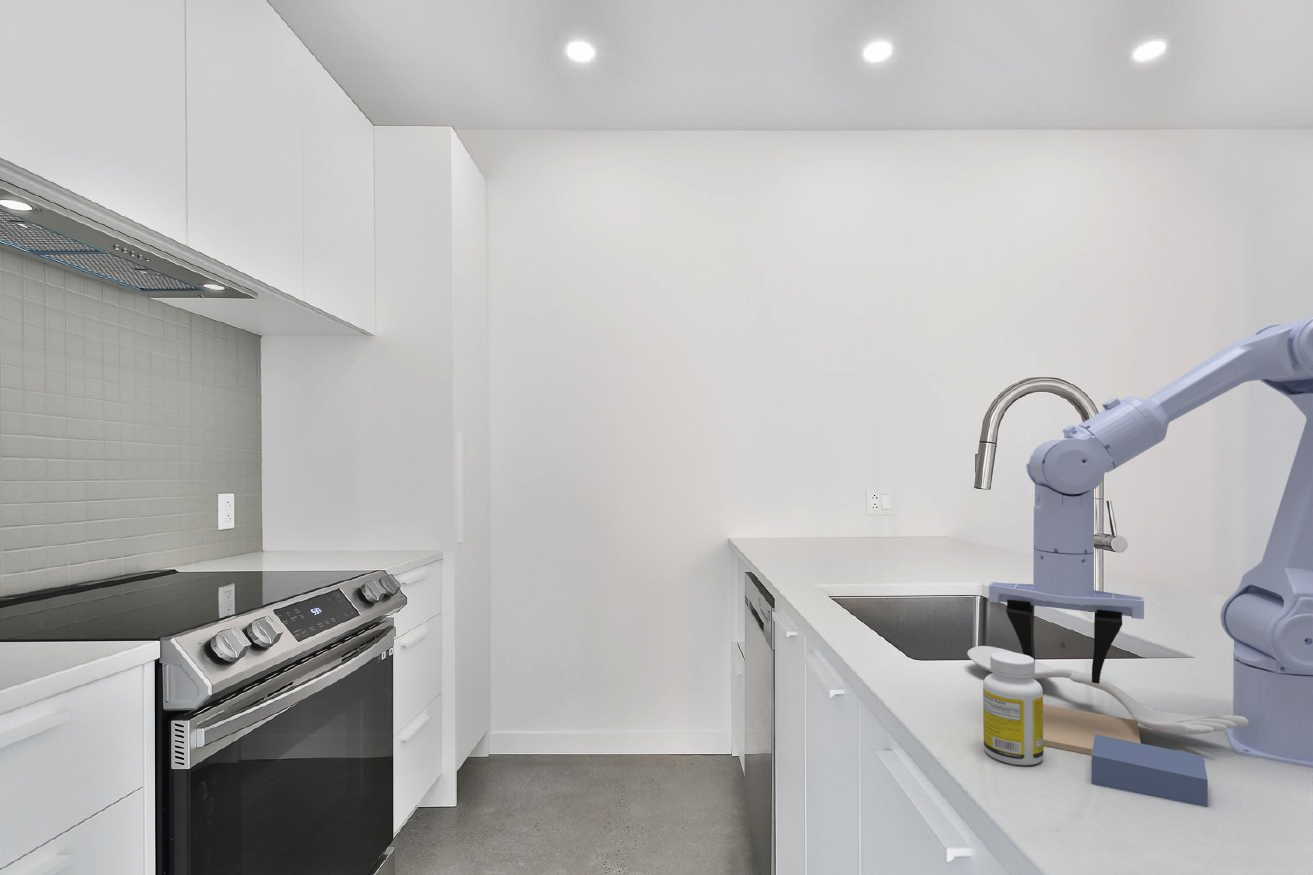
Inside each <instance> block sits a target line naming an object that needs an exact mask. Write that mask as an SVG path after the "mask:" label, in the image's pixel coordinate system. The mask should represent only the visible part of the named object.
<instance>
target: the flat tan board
mask: <svg viewBox="0 0 1313 875" xmlns="http://www.w3.org/2000/svg"><path fill="white" fill-rule="evenodd" d="M1095 734H1096V735H1101V736H1106V737H1111V738H1116V739H1121V740H1126V741H1131V742H1136V743H1141V744H1142V742H1141V735H1140V726H1139V723H1138V722H1137V721H1135V720H1134V719H1130V718H1124V717H1120V716H1119V717H1118V716H1113V715H1107V714H1103V713H1102V714H1101V713H1097V712H1090V711H1083V710H1078V709H1073V708H1072V709H1071V708H1068V707H1067V708H1066V707H1061V706H1054V705H1050V704H1044V703H1043V747H1050V748H1053V749H1054V748H1055V749H1060V750H1065V751H1070V752H1074V753H1080V754H1085V755H1090V756H1092V750H1093V744H1094V737H1095Z"/></svg>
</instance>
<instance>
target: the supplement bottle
mask: <svg viewBox="0 0 1313 875" xmlns="http://www.w3.org/2000/svg"><path fill="white" fill-rule="evenodd" d="M1035 661H1036V660H1035ZM1035 661H1034V659H1033V658H1032V657H1030V656H1027V655H1024V654H1023V653H1020V652H1019V653H1018V652H1015V653H1014V651H1012V652H995V653H992V654H991V658H990V666H991V670H992V671H993V673H992V672H991V673H990V674H988V675H987V676H986V677H985V678H983V679H984V680H983V681H982V682H983V684H982V697H983V698H982V702H983V703H982V705H983V706H982V707H983V710H982V712H983V714H982V716H983V717H982V719H983V720H982V721H983V729H982V730H983V748H984V751H985V752H986V753H987V755H989V756H990V757H992V758H993V759H995V760H996V761H1000V762H1002V763H1005V764H1010V765H1014V766H1031V765H1032V766H1033V765H1036V764H1040V763H1042V761H1043V759H1044V745H1043V704H1044V693H1043V692H1044V690H1043V687H1042V685H1041V683H1040V682H1038V680H1037V679H1033V678H1032V676H1033V675H1034V674H1035V673H1034V672H1035Z"/></svg>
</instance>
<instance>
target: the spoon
mask: <svg viewBox="0 0 1313 875" xmlns="http://www.w3.org/2000/svg"><path fill="white" fill-rule="evenodd" d="M995 652H1014V651H1011V650H1009V649H1005V648H999V647H995V646H988V645H979V646H974V647H972V648H969V649H968V651H967V653H966V655H967V656H968V657H969V658H968V659H970V660H971V661H972V662H973V663H975V664H976V665H978V666H979V667H981V668H983V669H984V670H985V671H988V672H990V673H991V674H992V673H993V671H992V670H991V666H990V658H991V654H992V653H995ZM1014 653H1016V652H1014ZM1034 673H1035V674H1034V675H1033V676H1032V678H1033V679H1034V680H1039V679H1047V678H1049V679H1051V678H1065V679H1070V680H1071V681H1072V682H1074V683H1078V684H1082V685H1086V686H1090V687H1092V688H1096V689H1098V690H1101V691H1104V692H1105V693H1107V694H1109V695H1110V696H1112V697H1113V698H1114V699H1115V700H1117V701H1118V703H1120V704H1121V705H1122V706H1123V707H1124V709H1125V710H1126V711H1127V712H1128V714H1129V715H1130V716H1131V717H1132V720H1135V721H1137V722H1138V725H1140V726H1143V727H1146V728H1149V729H1152V730H1153V731H1157V732H1161V733H1165V734H1170V735H1171V734H1173V735H1185V736H1186V735H1188V736H1191V735H1202V734H1203V735H1204V734H1211V733H1213V732H1223V731H1225V730H1226V729H1231V728H1235V727H1236V726H1241V727H1244V726H1247V725H1248V723H1249V722H1248V720H1247V719H1246V718H1245V717H1242V716H1235V715H1233V714H1232V715H1231V714H1229V715H1228V714H1224V715H1211V716H1210V715H1209V716H1206V715H1205V716H1204V715H1195V714H1188V713H1180V712H1169V711H1163V710H1157V709H1154V708H1151V707H1149V706H1146V705H1144V704H1142V703H1141V702H1139V701H1137V700H1136V699H1135V698H1133V697H1132V696H1131V695H1129V694H1127V693H1126V692H1125V691H1124V690H1122V689H1121V688H1120V687H1118V686H1116V685H1115V684H1113V683H1110V681H1109V682H1108V681H1106V680H1103V679H1101V678H1100V684H1098V683H1092V673H1091V674H1090V673H1087V672H1083V671H1082V672H1081V671H1077V670H1074V669H1069V668H1054V667H1052V666H1049V665H1046V664H1045V663H1042V662H1040V661H1037V660H1035V672H1034Z"/></svg>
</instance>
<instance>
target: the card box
mask: <svg viewBox="0 0 1313 875" xmlns="http://www.w3.org/2000/svg"><path fill="white" fill-rule="evenodd" d="M1206 770H1207V768H1206V764H1205V757H1204V755H1200V754H1194V753H1190V752H1186V751H1180V750H1174V749H1169V748H1164V747H1161V746H1156V745H1155V746H1154V745H1150V744H1146V743H1145V744H1144V743H1142V742H1141V743H1136V742H1131V741H1126V740H1121V739H1116V738H1111V737H1106V736H1101V735H1096V734H1095V737H1094V744H1093V750H1092V755H1091V780H1090V781H1091V782H1090V783H1091V785H1094V786H1100V787H1104V788H1109V789H1115V790H1119V791H1123V792H1130V793H1134V794H1139V795H1143V796H1149V797H1155V798H1159V799H1164V800H1169V801H1173V802H1179V803H1185V804H1190V805H1194V806H1199V807H1203V808H1204V807H1205V808H1208V799H1209V798H1208V795H1209V794H1208V789H1209V788H1208V786H1209V784H1208V783H1209V782H1208V781H1209V780H1208V776H1207V775H1208V774H1207V771H1206Z"/></svg>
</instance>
